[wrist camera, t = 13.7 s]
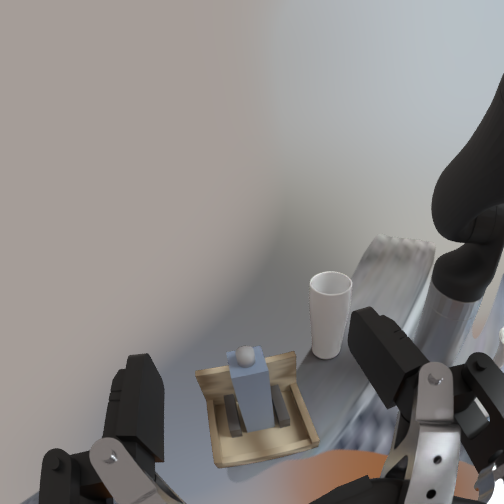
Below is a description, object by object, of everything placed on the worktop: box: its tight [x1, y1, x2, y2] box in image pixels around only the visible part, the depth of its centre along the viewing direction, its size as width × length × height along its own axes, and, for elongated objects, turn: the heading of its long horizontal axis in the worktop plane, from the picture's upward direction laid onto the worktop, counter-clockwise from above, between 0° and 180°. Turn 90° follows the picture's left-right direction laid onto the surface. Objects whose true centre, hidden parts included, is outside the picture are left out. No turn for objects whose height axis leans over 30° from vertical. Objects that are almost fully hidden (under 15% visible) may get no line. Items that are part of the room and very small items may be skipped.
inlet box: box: [195, 351, 320, 468], centre depth 32 cm, size 14×12×9 cm
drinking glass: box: [309, 272, 352, 359], centre depth 43 cm, size 7×7×15 cm
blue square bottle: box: [227, 346, 275, 433], centre depth 31 cm, size 4×4×16 cm
